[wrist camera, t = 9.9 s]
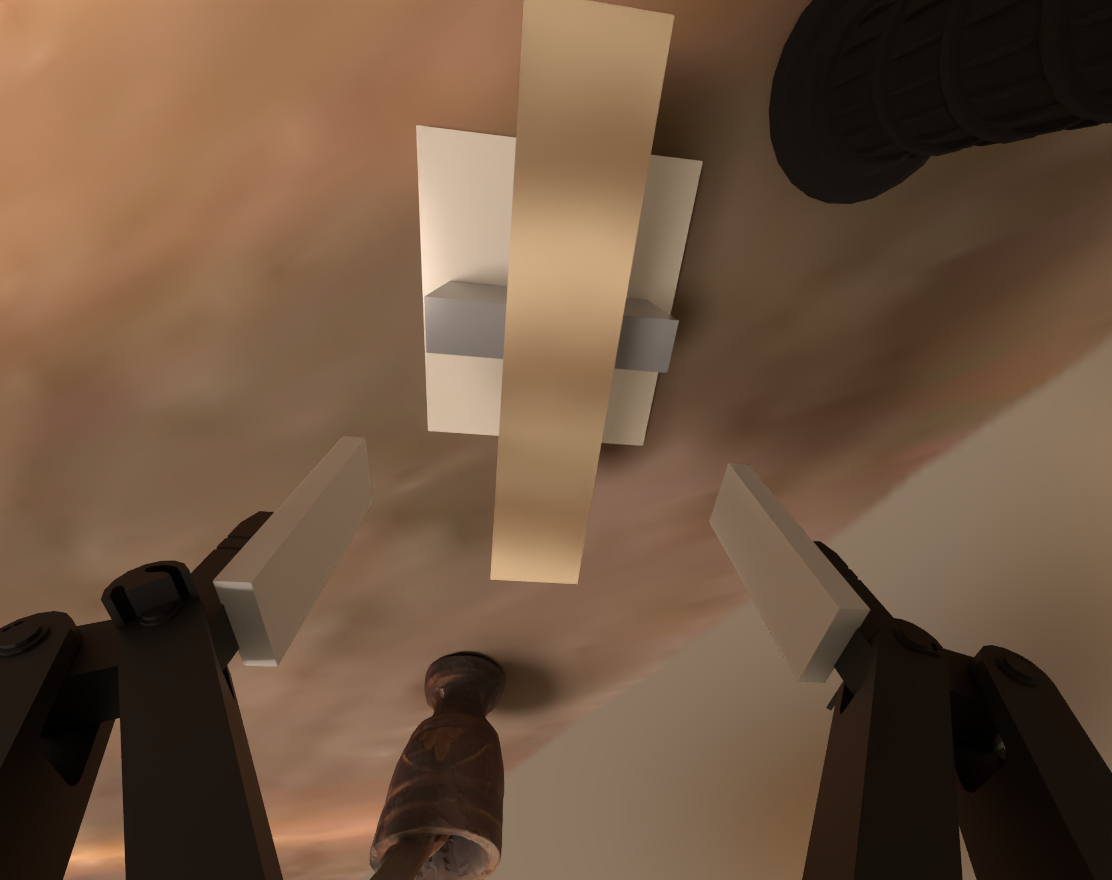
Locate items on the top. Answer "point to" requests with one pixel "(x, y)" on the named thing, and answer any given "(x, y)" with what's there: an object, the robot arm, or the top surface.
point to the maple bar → (569, 266)
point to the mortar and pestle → (447, 782)
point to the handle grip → (930, 84)
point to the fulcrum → (482, 278)
